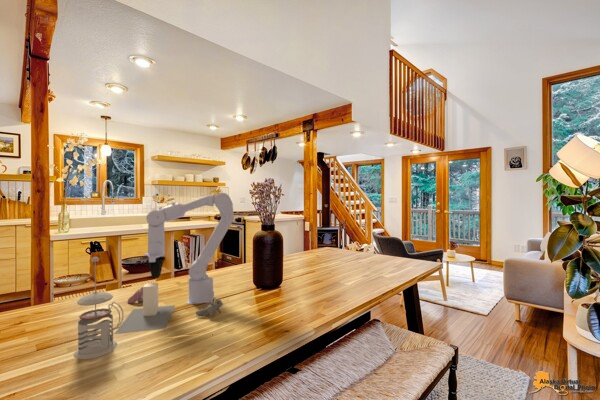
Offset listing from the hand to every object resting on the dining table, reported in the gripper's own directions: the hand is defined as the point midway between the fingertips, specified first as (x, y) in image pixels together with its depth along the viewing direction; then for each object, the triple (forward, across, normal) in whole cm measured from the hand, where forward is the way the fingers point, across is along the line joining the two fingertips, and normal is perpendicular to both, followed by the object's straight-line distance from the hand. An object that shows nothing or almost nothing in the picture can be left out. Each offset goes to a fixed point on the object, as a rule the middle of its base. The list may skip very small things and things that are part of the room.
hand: (156, 277), depth 112 cm
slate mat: (+10, +14, 0) cm, 17 cm away
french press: (+11, +32, -8) cm, 35 cm away
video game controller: (+11, -6, -6) cm, 14 cm away
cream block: (+10, +10, 0) cm, 14 cm away
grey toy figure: (+10, +18, +20) cm, 29 cm away
